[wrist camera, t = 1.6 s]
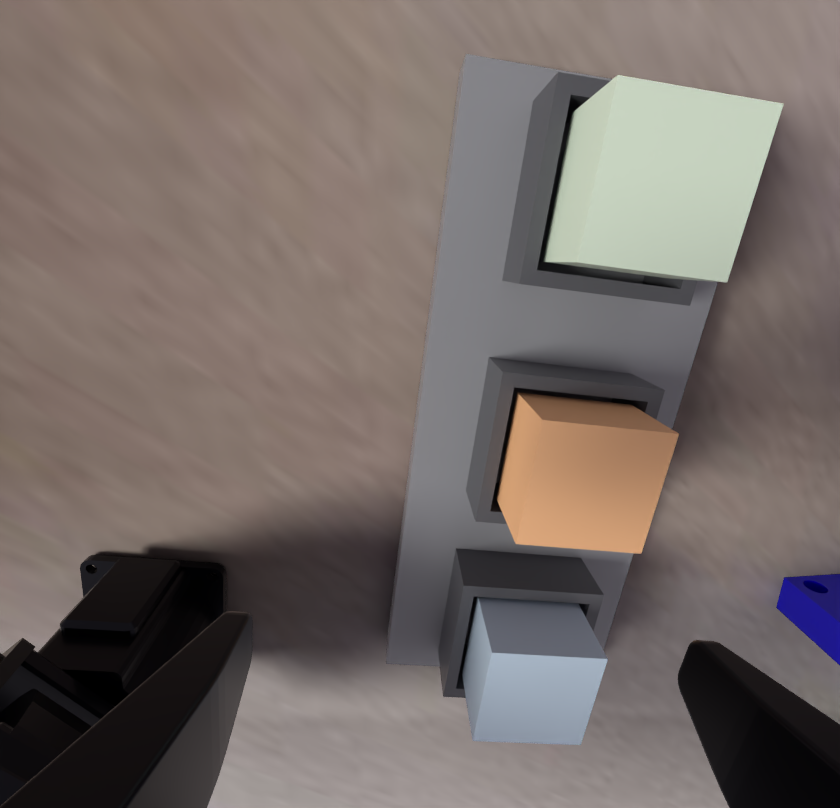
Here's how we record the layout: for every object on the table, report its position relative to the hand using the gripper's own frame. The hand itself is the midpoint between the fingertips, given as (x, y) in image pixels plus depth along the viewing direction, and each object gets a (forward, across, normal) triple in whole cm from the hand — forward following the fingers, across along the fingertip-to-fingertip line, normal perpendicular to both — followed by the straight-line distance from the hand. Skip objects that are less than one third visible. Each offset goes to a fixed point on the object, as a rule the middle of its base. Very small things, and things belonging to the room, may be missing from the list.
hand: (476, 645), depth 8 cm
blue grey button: (+10, -5, +9) cm, 14 cm away
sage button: (+10, -5, -9) cm, 14 cm away
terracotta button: (+10, -5, 0) cm, 11 cm away
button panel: (+13, -5, 0) cm, 14 cm away
